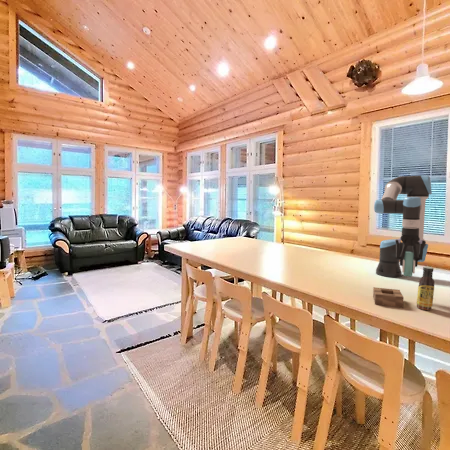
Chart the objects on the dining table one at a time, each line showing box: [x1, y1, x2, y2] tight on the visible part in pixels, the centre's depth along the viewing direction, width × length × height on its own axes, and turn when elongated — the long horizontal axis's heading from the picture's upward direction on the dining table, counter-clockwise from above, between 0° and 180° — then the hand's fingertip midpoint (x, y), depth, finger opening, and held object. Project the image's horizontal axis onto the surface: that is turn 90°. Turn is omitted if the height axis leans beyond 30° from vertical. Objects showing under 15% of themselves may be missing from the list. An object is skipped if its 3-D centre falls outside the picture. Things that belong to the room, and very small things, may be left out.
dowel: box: [402, 252, 414, 277], centre depth 157 cm, size 4×4×12 cm
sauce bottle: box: [416, 266, 435, 311], centre depth 143 cm, size 7×6×20 cm
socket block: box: [372, 287, 404, 308], centre depth 153 cm, size 12×12×5 cm
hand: (408, 272), depth 158 cm, fingers closed on dowel, 4 cm apart
